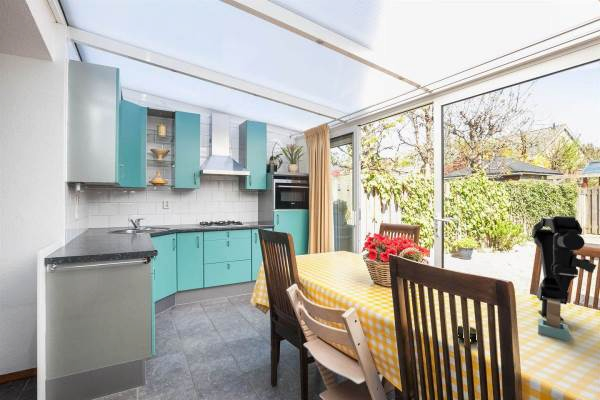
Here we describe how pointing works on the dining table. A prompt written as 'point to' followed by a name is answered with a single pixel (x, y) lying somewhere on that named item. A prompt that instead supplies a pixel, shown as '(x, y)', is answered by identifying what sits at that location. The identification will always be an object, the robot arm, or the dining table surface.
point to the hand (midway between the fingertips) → (563, 292)
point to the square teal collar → (553, 330)
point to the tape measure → (472, 334)
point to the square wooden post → (553, 314)
